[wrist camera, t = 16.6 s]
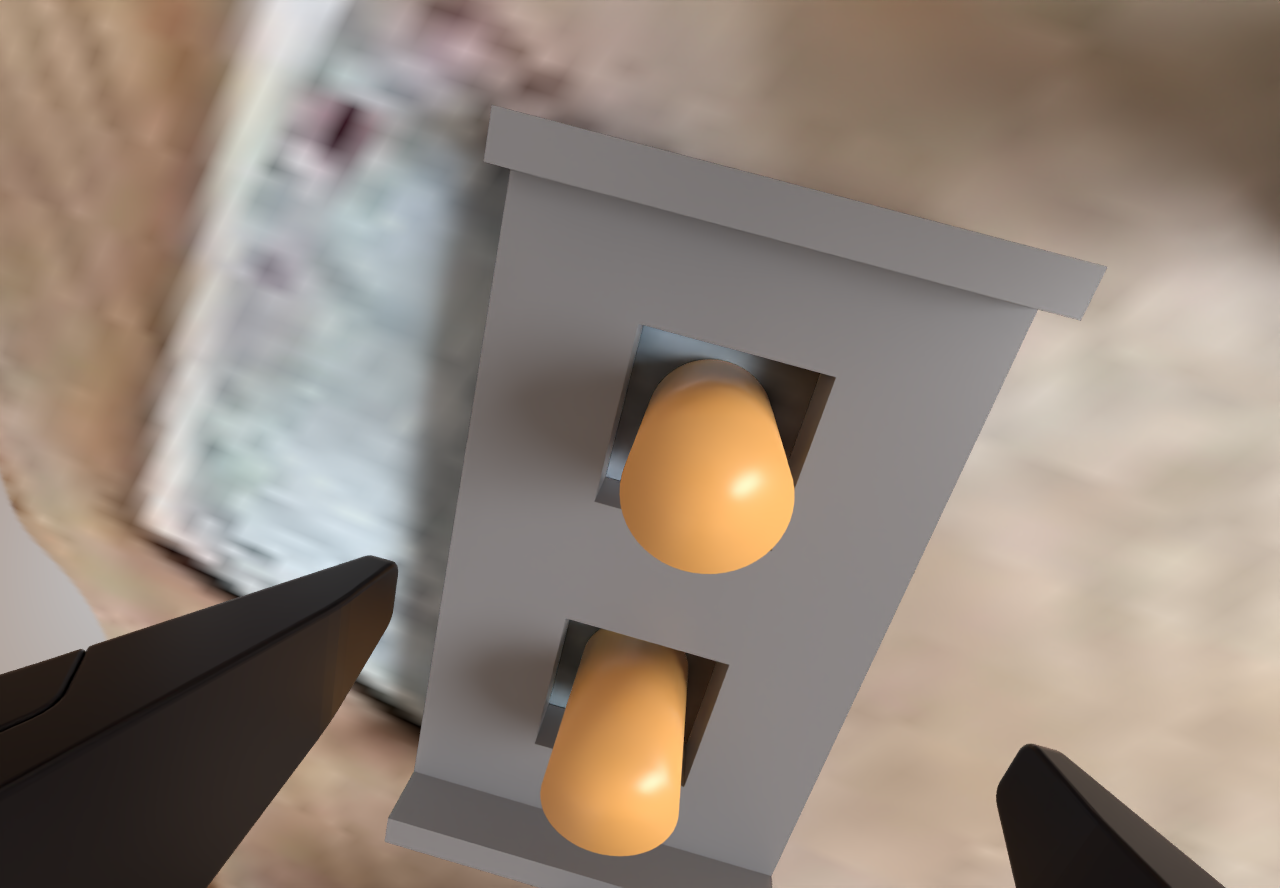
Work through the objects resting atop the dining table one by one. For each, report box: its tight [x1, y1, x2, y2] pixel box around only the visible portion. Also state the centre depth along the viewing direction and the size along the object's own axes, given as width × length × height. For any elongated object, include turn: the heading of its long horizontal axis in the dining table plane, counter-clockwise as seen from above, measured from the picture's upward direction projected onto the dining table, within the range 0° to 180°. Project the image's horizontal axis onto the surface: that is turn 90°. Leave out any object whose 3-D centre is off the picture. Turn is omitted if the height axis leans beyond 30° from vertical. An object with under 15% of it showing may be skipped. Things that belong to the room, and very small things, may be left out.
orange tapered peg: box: [540, 628, 688, 856], centre depth 21 cm, size 4×4×6 cm
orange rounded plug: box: [619, 359, 794, 574], centre depth 17 cm, size 4×4×6 cm
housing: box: [385, 105, 1107, 888], centre depth 20 cm, size 24×14×4 cm, turn 166°
